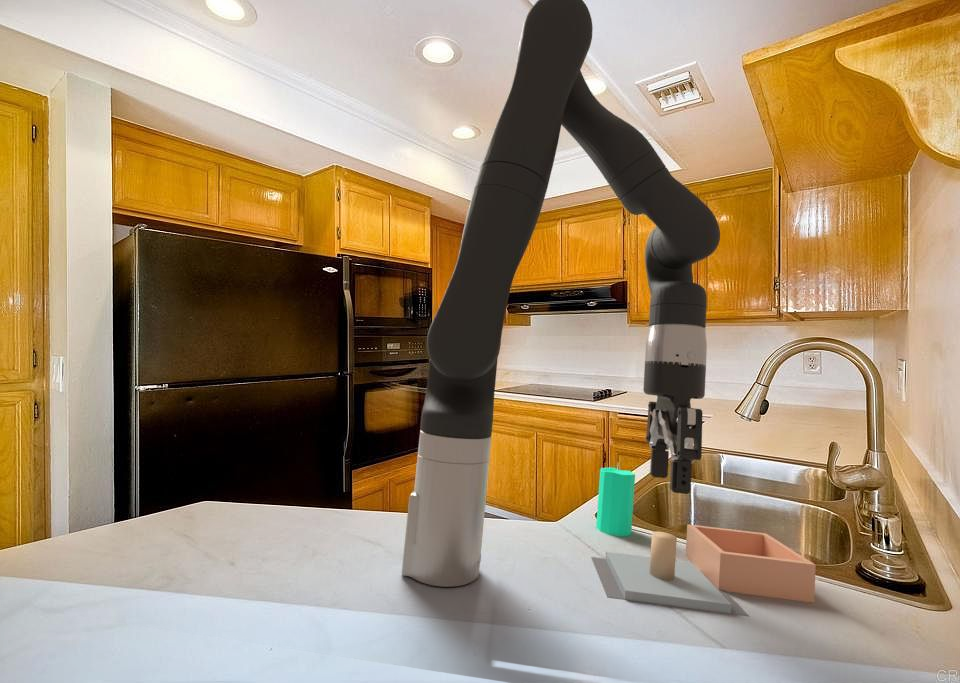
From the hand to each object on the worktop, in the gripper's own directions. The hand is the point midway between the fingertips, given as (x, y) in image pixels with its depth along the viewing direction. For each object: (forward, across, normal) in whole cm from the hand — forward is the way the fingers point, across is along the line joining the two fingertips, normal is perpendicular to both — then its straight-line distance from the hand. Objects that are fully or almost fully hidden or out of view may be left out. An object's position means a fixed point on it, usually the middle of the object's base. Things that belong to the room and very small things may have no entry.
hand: (668, 484), depth 60 cm
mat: (+13, 0, 0) cm, 13 cm away
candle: (+13, -20, -2) cm, 24 cm away
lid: (+13, 0, 0) cm, 13 cm away
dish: (+13, -6, +13) cm, 19 cm away
